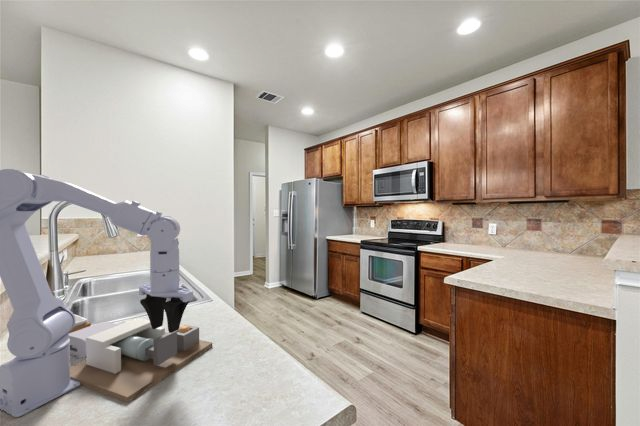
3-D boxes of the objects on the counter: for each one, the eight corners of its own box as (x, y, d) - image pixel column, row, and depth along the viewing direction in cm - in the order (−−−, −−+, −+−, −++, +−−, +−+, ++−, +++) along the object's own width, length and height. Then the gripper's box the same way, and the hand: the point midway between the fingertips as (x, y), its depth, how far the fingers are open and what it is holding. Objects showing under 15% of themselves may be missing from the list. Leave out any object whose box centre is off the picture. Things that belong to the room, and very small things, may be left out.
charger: (144, 332, 79) (85, 359, 65) (123, 328, 82) (62, 352, 68) (143, 317, 79) (84, 340, 65) (123, 313, 82) (62, 334, 68)
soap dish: (91, 335, 77) (91, 318, 77) (45, 351, 69) (45, 332, 69) (72, 327, 83) (71, 311, 83) (27, 341, 74) (27, 323, 74)
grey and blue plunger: (157, 371, 58) (157, 340, 58) (107, 356, 63) (107, 328, 63) (177, 359, 62) (176, 330, 62) (128, 346, 68) (128, 320, 68)
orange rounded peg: (184, 345, 68) (184, 330, 68) (177, 344, 69) (177, 328, 69) (191, 341, 70) (191, 326, 70) (184, 339, 71) (184, 325, 71)
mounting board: (127, 402, 50) (127, 397, 50) (59, 377, 58) (59, 372, 58) (212, 346, 71) (212, 342, 71) (153, 333, 78) (153, 329, 78)
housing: (135, 380, 55) (135, 350, 55) (86, 364, 61) (86, 337, 61) (199, 342, 71) (199, 319, 71) (155, 332, 77) (155, 311, 77)
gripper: (203, 268, 61) (203, 326, 61) (158, 264, 66) (158, 317, 66) (177, 275, 55) (177, 340, 55) (129, 270, 60) (130, 329, 60)
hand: (165, 329), depth 60 cm, fingers open, 5 cm apart
